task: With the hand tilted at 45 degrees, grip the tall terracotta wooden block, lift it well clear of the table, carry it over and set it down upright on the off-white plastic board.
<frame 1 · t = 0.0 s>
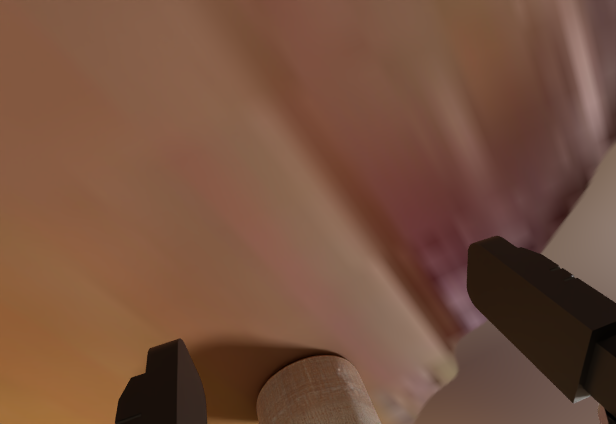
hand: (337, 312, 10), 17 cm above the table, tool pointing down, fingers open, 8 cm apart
planter: (306, 386, 40), on the table
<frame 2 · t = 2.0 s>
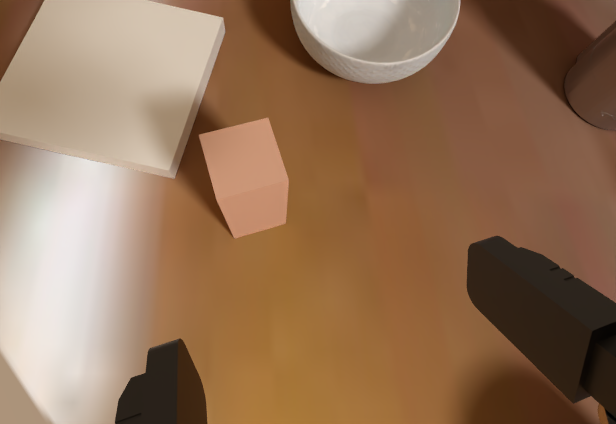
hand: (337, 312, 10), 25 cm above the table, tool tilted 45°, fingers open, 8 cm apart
off-white board: (116, 80, 40), on the table
terracotta block: (253, 206, 37), on the table
cereal bowl: (361, 42, 44), on the table
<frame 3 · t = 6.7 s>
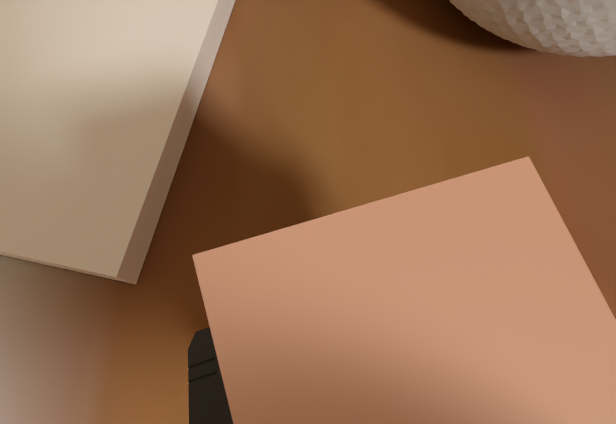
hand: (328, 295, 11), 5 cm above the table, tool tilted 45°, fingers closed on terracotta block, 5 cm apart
off-white board: (13, 52, 18), on the table
terracotta block: (329, 354, 15), on the table, touching gripper
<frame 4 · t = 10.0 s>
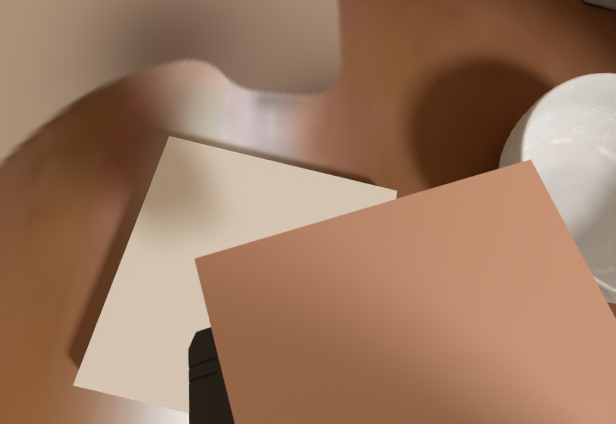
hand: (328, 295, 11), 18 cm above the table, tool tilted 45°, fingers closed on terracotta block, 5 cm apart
off-white board: (253, 281, 29), on the table
terracotta block: (329, 355, 15), point 13 cm above the table, touching gripper
cereal bowl: (565, 209, 33), on the table
when the fingers open (8 cm above the table, at t = 13.4 s): terracotta block drops 1 cm, resting on off-white board.
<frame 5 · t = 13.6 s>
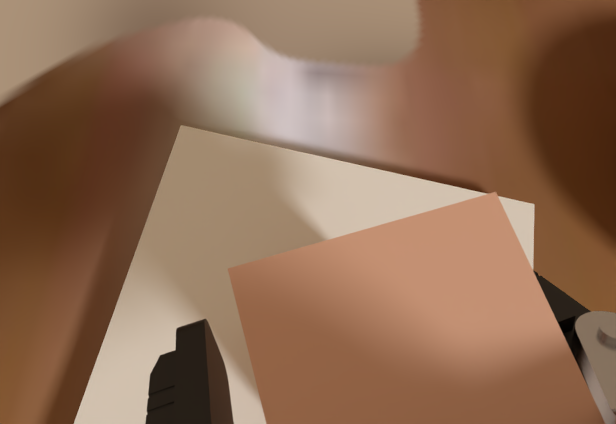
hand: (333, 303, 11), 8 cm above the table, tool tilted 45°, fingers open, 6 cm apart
off-white board: (318, 352, 18), on the table
terracotta block: (330, 352, 16), point 2 cm above the table, touching off-white board
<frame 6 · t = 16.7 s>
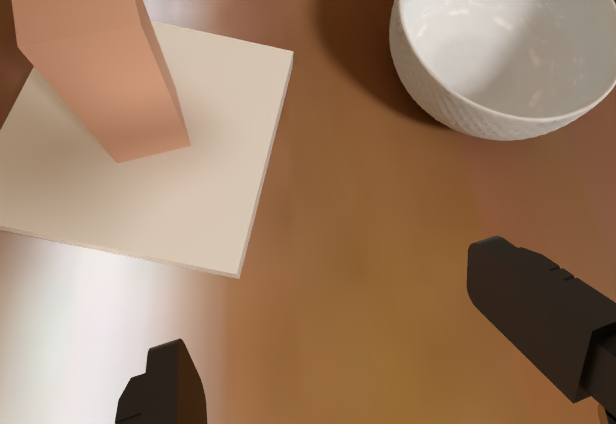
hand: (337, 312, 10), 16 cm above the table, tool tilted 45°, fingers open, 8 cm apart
off-white board: (151, 138, 29), on the table
terracotta block: (147, 123, 28), point 2 cm above the table, touching off-white board
cereal bowl: (466, 79, 34), on the table
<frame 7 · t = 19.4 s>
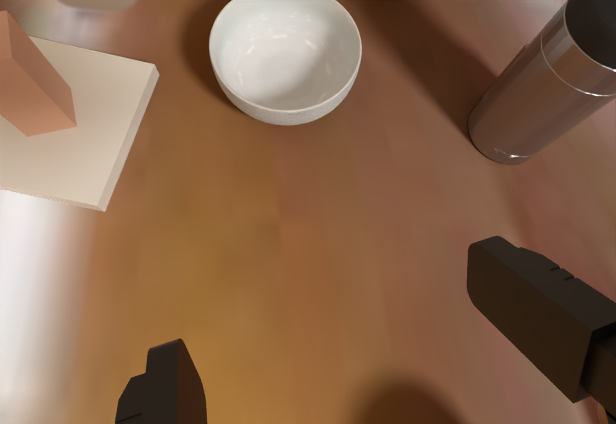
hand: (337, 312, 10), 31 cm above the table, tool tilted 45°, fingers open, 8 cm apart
off-white board: (56, 122, 45), on the table
terracotta block: (49, 112, 43), point 2 cm above the table, touching off-white board
cereal bowl: (284, 83, 49), on the table
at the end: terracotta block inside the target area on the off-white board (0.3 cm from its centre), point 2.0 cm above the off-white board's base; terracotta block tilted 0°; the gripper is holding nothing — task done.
